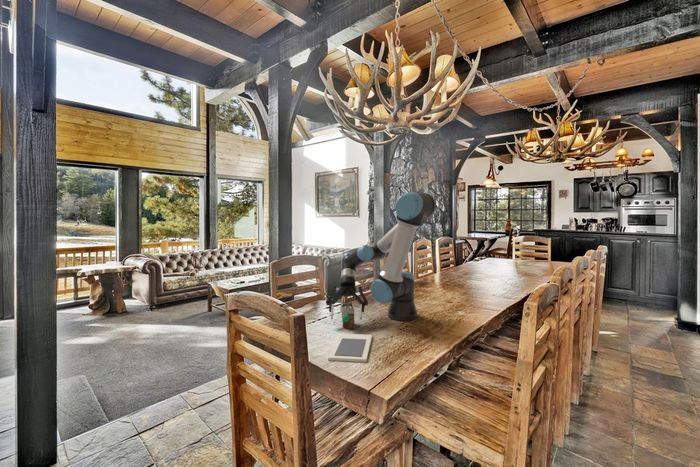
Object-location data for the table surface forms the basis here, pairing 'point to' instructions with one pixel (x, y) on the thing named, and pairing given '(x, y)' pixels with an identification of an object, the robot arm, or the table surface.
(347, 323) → the food container
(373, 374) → the table surface
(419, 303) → the table surface
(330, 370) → the table surface
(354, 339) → the board
